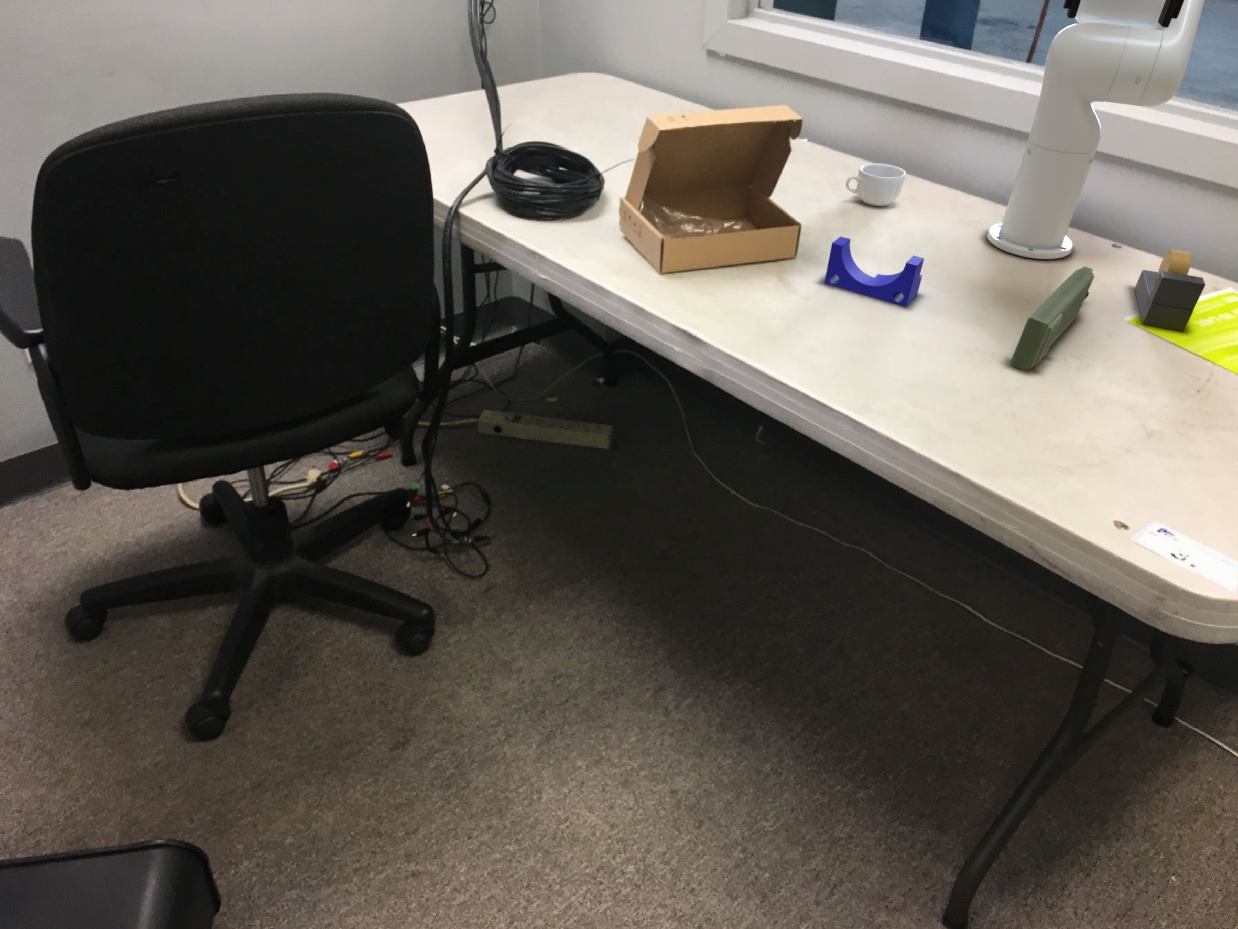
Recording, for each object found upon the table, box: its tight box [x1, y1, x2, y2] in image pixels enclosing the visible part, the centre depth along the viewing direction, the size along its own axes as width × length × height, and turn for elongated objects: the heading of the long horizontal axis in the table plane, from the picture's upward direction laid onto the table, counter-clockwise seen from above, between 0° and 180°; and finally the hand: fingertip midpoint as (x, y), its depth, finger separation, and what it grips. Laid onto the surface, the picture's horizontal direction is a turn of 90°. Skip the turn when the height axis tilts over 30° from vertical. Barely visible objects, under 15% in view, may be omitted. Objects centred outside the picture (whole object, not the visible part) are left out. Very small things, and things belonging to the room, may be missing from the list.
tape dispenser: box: [1134, 249, 1206, 332], centre depth 118 cm, size 12×5×8 cm, turn 159°
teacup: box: [845, 162, 907, 207], centre depth 149 cm, size 10×8×5 cm
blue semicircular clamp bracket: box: [824, 235, 925, 307], centre depth 120 cm, size 12×4×6 cm, turn 56°
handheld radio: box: [1010, 266, 1095, 371], centre depth 111 cm, size 7×3×25 cm
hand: (1116, 20), depth 98 cm, fingers open, 9 cm apart
